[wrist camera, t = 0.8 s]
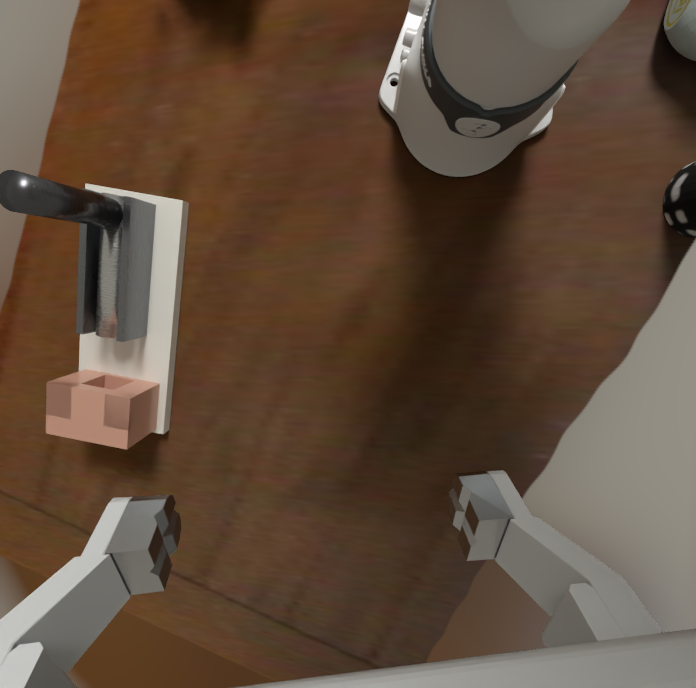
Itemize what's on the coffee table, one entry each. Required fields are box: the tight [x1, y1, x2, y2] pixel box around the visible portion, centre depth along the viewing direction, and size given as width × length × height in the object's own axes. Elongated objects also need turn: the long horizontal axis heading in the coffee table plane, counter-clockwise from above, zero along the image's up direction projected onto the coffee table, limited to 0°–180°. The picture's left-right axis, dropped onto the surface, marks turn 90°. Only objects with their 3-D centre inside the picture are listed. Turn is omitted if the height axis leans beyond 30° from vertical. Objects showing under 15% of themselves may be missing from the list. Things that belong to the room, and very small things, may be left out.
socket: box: [46, 369, 160, 450], centre depth 46 cm, size 6×10×6 cm, turn 80°
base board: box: [79, 183, 189, 434], centre depth 48 cm, size 30×12×2 cm, turn 170°
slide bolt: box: [0, 170, 124, 338], centre depth 38 cm, size 16×3×14 cm, turn 170°
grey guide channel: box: [76, 188, 156, 342], centre depth 44 cm, size 16×6×5 cm, turn 170°
